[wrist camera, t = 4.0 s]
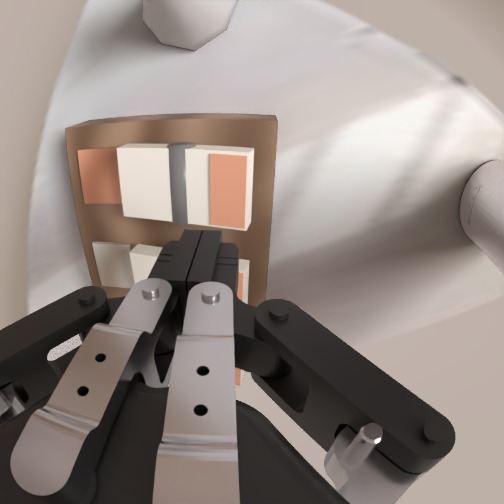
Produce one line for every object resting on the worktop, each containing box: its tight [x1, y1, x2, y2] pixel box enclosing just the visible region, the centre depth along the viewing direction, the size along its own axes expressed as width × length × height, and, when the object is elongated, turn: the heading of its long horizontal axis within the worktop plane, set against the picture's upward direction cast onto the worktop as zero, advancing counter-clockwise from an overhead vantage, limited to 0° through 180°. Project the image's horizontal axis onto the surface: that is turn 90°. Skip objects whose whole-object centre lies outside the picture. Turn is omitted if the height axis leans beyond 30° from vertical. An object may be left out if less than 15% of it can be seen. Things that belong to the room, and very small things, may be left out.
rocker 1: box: [117, 142, 254, 231], centre depth 20 cm, size 9×5×2 cm, turn 87°
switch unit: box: [65, 113, 278, 307], centre depth 28 cm, size 16×24×4 cm, turn 178°
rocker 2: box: [129, 244, 249, 304], centre depth 24 cm, size 9×5×2 cm, turn 88°
